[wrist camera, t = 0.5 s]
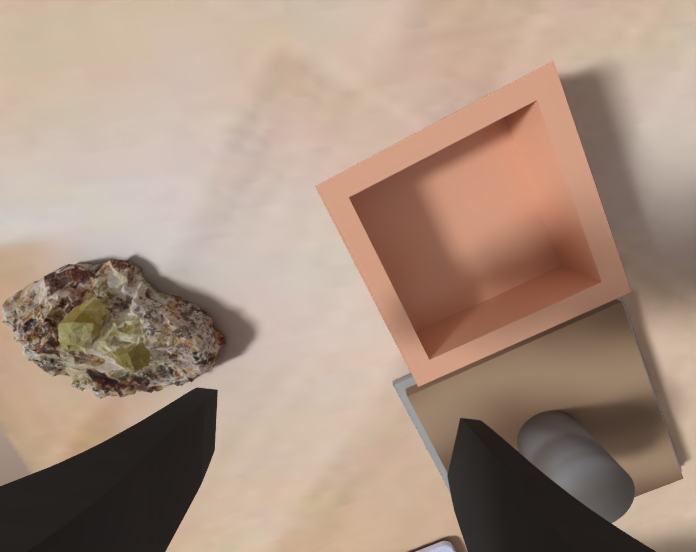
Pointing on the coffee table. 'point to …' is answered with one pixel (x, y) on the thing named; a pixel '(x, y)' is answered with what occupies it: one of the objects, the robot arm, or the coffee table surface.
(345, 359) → the coffee table surface
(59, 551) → the robot arm
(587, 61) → the coffee table surface
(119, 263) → the mineral rock
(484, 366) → the walnut lid
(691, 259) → the coffee table surface
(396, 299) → the peach square box
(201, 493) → the coffee table surface
